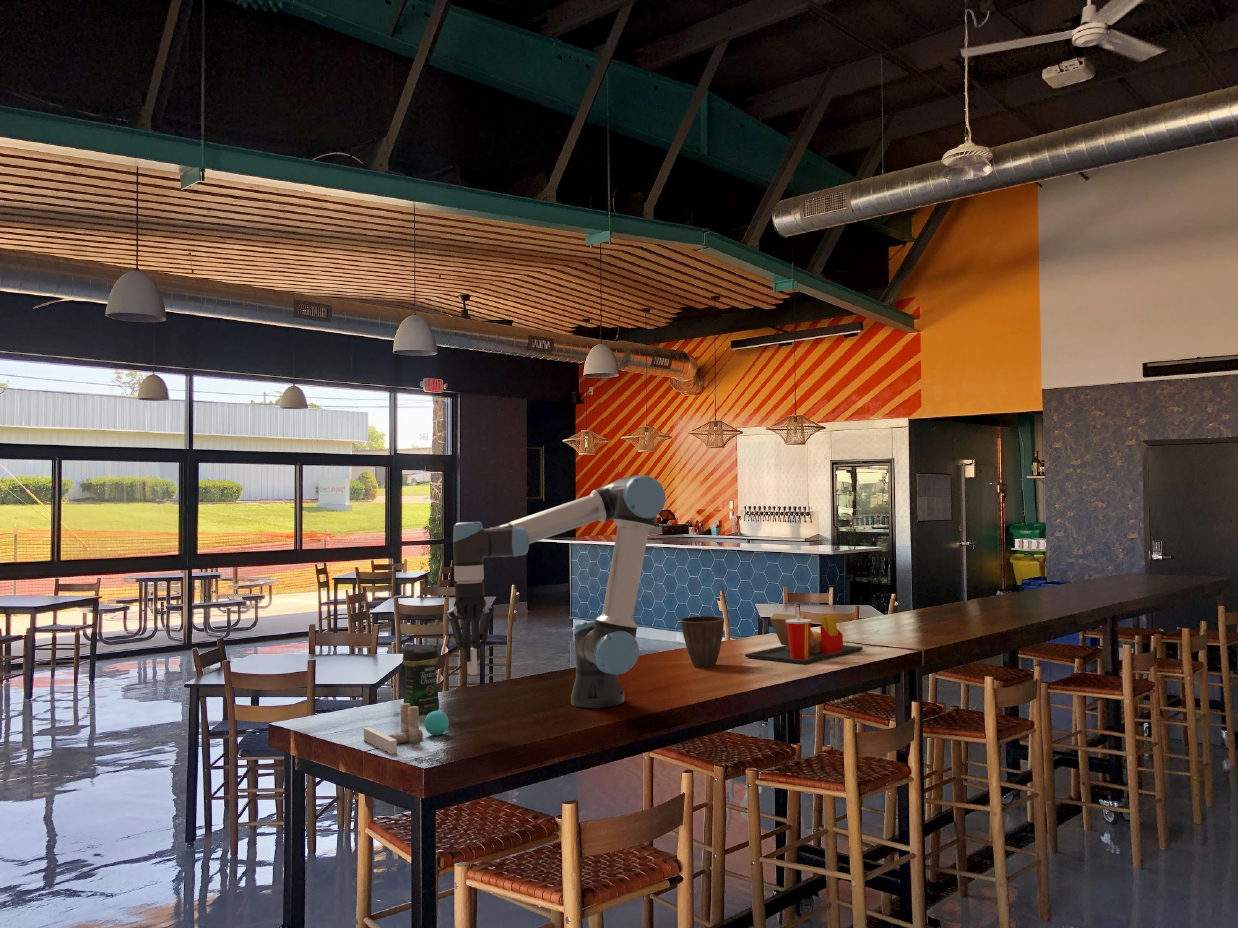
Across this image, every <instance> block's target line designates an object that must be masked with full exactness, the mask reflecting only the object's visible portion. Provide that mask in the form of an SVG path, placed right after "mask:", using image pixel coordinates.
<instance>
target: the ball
mask: <svg viewBox="0 0 1238 928" xmlns="http://www.w3.org/2000/svg"><path fill="white" fill-rule="evenodd" d="M423 724H424V725H423V726H424V729H425V731H426V732H427V733H428V734H429V735H432V736H441V735H443V734H444V733H446V731H447V730H448V728H449V725H450V721H449V717H448V715H447V714H446V713H445V712H444V711H441V710H438V711H433V712H431V713H428V714H426V717H425V719H424V722H423Z"/></svg>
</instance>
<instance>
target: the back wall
mask: <svg viewBox="0 0 1238 928" xmlns="http://www.w3.org/2000/svg"><path fill="white" fill-rule="evenodd" d="M364 740H365V741H364ZM363 741H364V742H366V741H367V743H368V742H369V743H368V744H370V743H371V744H370V745H372V744H373V745H372V746H374V745H375V746H374V747H376V746H377V747H376V748H377V749H380V750H382V749H383V750H382V751H384V750H385V751H387V752H388V753H387V752H386V753H387V754H389V753H390V754H389V755H394V753H395V754H398V744H397V740H395V739H393V738H391V737H389V736H387V734H385V733H382V732H381V731H378V730H377V729H374V728H372V727H371V726H367V727H363ZM385 751H384V752H385Z"/></svg>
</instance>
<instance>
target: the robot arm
mask: <svg viewBox="0 0 1238 928" xmlns="http://www.w3.org/2000/svg"><path fill="white" fill-rule="evenodd" d="M665 504H666V493H665V489H664V488H663V486H662V484H661V483H660V482H659V481H658V480H657V479H655V477H652V476H649V475H645V474H644V475H643V474H642V475H641V474H637V475H632V476H627V477H626V476H625V477H620V478H619V479H617V480H614V481H612V482H611V483H608V484H605V485H603V486H602V487H599V488H596V489H593V490H592V491H591V492H590V494H589V495H587V496H583V497H579V498H576V499H574V500H571V501H568V502H565V503H562V504H560V505H557V506H554V507H551V508H548V509H545V510H542V511H538V512H536V513H534V514H530V515H527V516H524V517H521V518H517V519H515V520H512V521H510V522H507V523H503V524H500V525H498V526H491V527H489V528H484V527H483V523H482V522H481V521H469V522H468V521H466V522H462V521H461V522H456V523H455V524H454V525H453V528H452V529H453V534H452V538H453V539H452V543H453V545H452V548H453V564H454V565H453V569H454V571H453V573H454V581H455V582H456V583H455V584H454V597H455V598H454V599H455V600H454V601H455V602H454V603H453V607H452V608H451V609H450V610H446V612H445V615H446V616H447V618H448V619H449V622H450V626H451V629H452V633H453V638H454V641H455V645H456V647H457V648H461V649H463V661H464V662H466V663H467V666H466V667H467V668H466V669H467V675H471V676H475V675H478V661H480V659H481V653H480V650H481V649H482V646H483V645H486V644H487V641H488V636H489V630H490V623H491V618H492V616H493V613H494V612H495V607H494V606H490V605H488V604H487V601H486V599H485V583H484V582H483V580H484V579H485V570H484V558H485V559H487V558H500V557H501V558H506V557H514V558H516V557H519V556H525V555H527V553H528V551H529V548H530V545H531V544H533V543H536V542H539V541H542V540H545V539H548V538H550V537H553V536H556V535H559V534H562V533H565V532H567V531H571V530H574V529H577V528H580V527H583V526H586V525H588V524H591V523H594V522H597V521H599V522H601V523H605V522H607V521H610V520H613V522H614V524H615V525H616V526H617V528H616V535H615V540H614V541H615V542H614V546H613V551H612V555H611V556H612V558H611V563H610V566H609V573H608V578H607V579H608V580H607V584H606V591H605V597H604V602H603V606H602V612H601V614H600V615H598V616H597V617H596V618H595V619H594V621H585V622H578V623H576V624H575V626H574V632H573V637H574V652H575V653H574V655H575V673H576V674H575V680H574V684H573V688H572V692H571V694H570V704H571V705H572V706H573V707H577V708H582V707H583V708H584V709H599V708H600V709H601V708H610V707H615V706H619V705H622V704H624V703H625V693H624V690H623V686H622V684H621V681H620V679H619V676H618V675H621V674H622V675H623V674H625V673H627V672H628V671H630V670H631V669H632V668H633V667H634V666H635V664H636V663H637V661H638V658H639V655H640V654H639V653H640V649H639V644H638V641H637V640H636V637H637V630H638V625H637V623H636V622H635V620H634V616H635V609H636V604H637V600H638V599H637V597H638V593H639V587H640V582H641V581H640V580H641V576H642V571H643V565H644V564H643V563H644V560H645V559H644V558H645V554H646V548H647V541H648V537H649V536H648V535H649V533H650V532H651V531H653V530H654V529H655V528H656V522H657V517H658V516H659V514H660V513H661V512H662V511H663V509H664V507H665ZM482 612H483V614H482ZM481 614H482V616H481ZM458 615H459V616H460V621H461V625H460V622H459V618H458ZM481 617H482V618H481ZM480 622H481V623H480Z"/></svg>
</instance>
